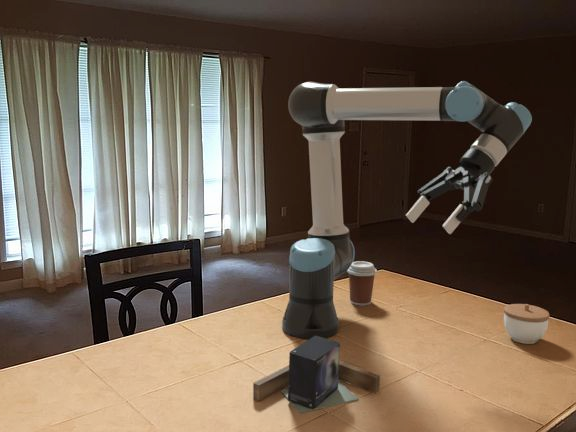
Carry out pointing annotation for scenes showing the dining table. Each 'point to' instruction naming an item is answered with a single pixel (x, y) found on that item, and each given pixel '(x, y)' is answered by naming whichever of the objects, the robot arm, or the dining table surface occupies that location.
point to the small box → (313, 371)
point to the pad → (328, 399)
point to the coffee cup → (361, 282)
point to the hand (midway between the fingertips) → (426, 224)
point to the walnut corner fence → (346, 374)
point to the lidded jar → (525, 322)
